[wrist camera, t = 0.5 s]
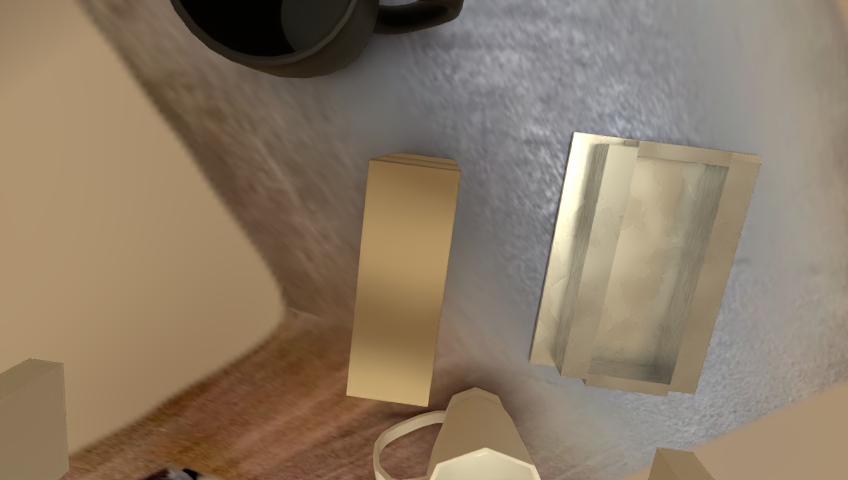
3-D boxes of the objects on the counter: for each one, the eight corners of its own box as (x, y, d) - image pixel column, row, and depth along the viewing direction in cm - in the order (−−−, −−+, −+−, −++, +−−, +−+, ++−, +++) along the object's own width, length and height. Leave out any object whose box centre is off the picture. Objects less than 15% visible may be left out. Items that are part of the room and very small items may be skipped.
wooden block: (398, 152, 28) (369, 160, 17) (455, 159, 28) (460, 171, 17) (381, 304, 30) (346, 395, 19) (434, 311, 30) (427, 406, 19)
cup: (524, 460, 32) (550, 564, 24) (384, 458, 33) (365, 559, 25) (527, 369, 31) (556, 449, 23) (380, 368, 31) (358, 446, 23)
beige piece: (572, 132, 27) (585, 131, 24) (757, 155, 27) (789, 157, 24) (528, 360, 30) (536, 380, 28) (692, 382, 30) (715, 404, 28)
